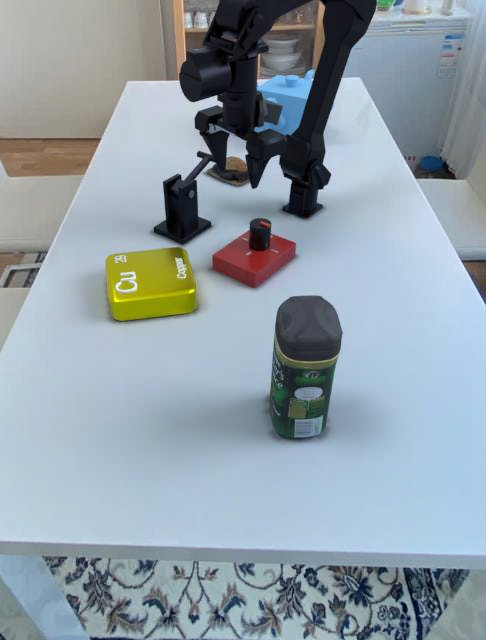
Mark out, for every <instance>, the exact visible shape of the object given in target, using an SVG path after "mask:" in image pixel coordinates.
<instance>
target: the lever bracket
mask: <svg viewBox="0 0 486 640" xmlns="http://www.w3.org/2000/svg"><path fill="white" fill-rule="evenodd" d="M182 178H183V177H182V174H180V173H176V174H174V175H173V176H170V177H169V178H166V179H165V180H163V181H162V189H163V190H162V191H163V201H164V213H165V220H163V221H162V222H159V223H157V225H155V226H153V228H152V229H153V233H154V234H156V235H159V236H161V237H163V238H166V239H168V240H170V241H173V242H175V243H177V244H180V245H181V246H184V245H185V244H188V242H190V241H191V240H193V239H195V238H196V237H198V236H199V235H201V234H203V233H204V232H206V231H207V230H209V229H210V228H212V221H211V220H208V219H206V218H203V217H201V216H199V201H198V200H199V199H198V198H199V197H198V180H197V179H192V180H191V181H189V182H187V183H185V184H184V185H182V186H180V187H178V192H179V200H178V199H175V198H174V197H173V195H172V192H171V189H170V188H171V187H172V186H173V185H174V184H175V183H176V181H177V180H178V179H181V180H183V179H182Z"/></svg>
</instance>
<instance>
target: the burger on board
mask: <svg viewBox="0 0 486 640" xmlns="http://www.w3.org/2000/svg"><path fill="white" fill-rule="evenodd" d="M206 173H207V174H208V175H210V176H212V177H215V178H216V179H219V180H220V181H223V182H225V183H227V184H231V185H233V186H236V187H241V186H244V185H245V184H248V183H250V180H249V174H248V169H247V164H246V161H244V160H243V159H242V158H240V157H237V156H232V155H231V156H227V158H226V168H225V171H223V172H220V171H219V169H218V167H217V165H216V163H214V164H213V165H212V167H210V168H208V169H207V170H206Z"/></svg>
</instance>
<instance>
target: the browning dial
mask: <svg viewBox="0 0 486 640" xmlns="http://www.w3.org/2000/svg"><path fill="white" fill-rule="evenodd" d="M272 225H273V224H272V221H271V220H270V219H268V218H264V217H256V218H253V219H251V220H250V221H249V229H248V230H249V247H250V248H251V249H253V250H255V251H264V250H267V249H268V248H269V247H270V240H271V233H272Z"/></svg>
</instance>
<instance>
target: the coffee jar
mask: <svg viewBox="0 0 486 640" xmlns="http://www.w3.org/2000/svg"><path fill="white" fill-rule="evenodd" d="M343 334H344V332H343V329H342V325H341V320H340V318H339V314H338V312H337V310H336V308H335V306H334V305H333V304H332V303H331V302H330V301H328V300H327V299H326V298H324V297H323V296H322V295H294V296H292V295H291V296H290V297H288V298H287V299H286V300H284V301H282V303H281V304H280V305H279V306H278V308H277V310H276V317H275V324H274V335H273V336H274V337H273V346H272V347H273V348H272V358H271V359H272V361H271V375H270V377H271V378H270V388H269V389H270V391H269V415H270V419H271V420H270V421H271V423H272V426H273V428H274V430H275V431H276V432H277V433H278V434H279V435H281V436H283V437H286V438H290V439H308V438H314V437H316V436H318V435H320V434H322V433H323V432H324V430H325V429H326V425H327V420H328V414H329V409H330V408H329V407H330V402H331V396H332V390H333V384H334V378H335V373H336V368H337V367H336V366H337V363H338V360H339V357H340V353H341V349H342V338H343Z"/></svg>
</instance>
